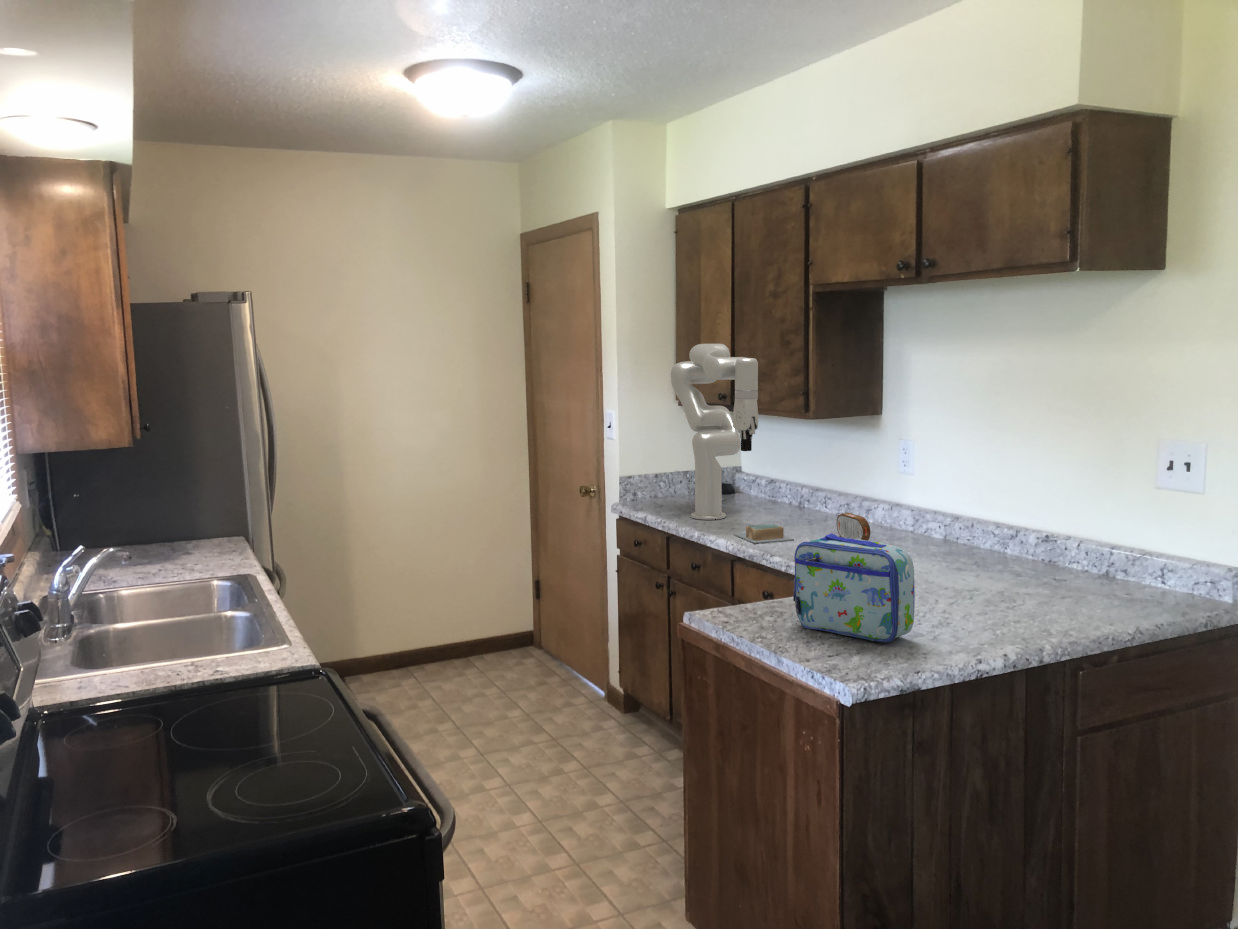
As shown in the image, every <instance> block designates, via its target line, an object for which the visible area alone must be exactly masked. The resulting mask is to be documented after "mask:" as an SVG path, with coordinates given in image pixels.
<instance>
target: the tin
mask: <svg viewBox="0 0 1238 929" xmlns="http://www.w3.org/2000/svg"><path fill="white" fill-rule="evenodd" d="M836 530H837V533H838V535H839V537H842V538H851V539H859V540H866V541H870V537H871V527H870V524H869V522H868V520H867V519H866V518H865V517H864V516H863V515H862V516H861V515H858V514H854V513H852V512H844V513H840V514H838V516H837V517H836Z"/></svg>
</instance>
